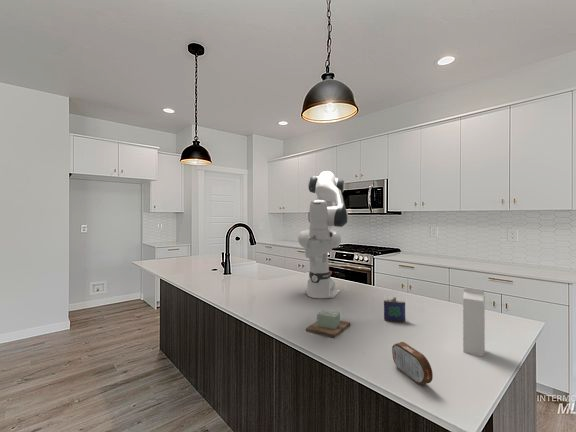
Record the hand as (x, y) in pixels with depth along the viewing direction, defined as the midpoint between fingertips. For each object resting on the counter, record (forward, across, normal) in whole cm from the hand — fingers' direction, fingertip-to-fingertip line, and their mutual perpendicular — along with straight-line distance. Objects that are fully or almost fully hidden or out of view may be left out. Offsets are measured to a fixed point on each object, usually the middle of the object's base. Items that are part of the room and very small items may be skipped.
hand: (319, 264), depth 139 cm
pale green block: (+23, -10, -10) cm, 27 cm away
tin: (+23, -31, -46) cm, 60 cm away
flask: (+26, +13, -31) cm, 42 cm away
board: (+24, -11, -10) cm, 28 cm away
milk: (+24, -2, -62) cm, 66 cm away
